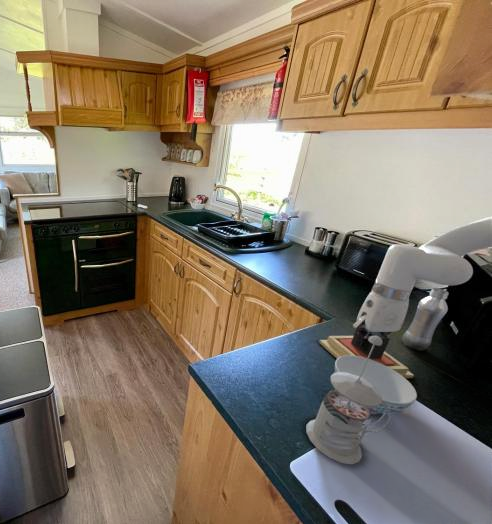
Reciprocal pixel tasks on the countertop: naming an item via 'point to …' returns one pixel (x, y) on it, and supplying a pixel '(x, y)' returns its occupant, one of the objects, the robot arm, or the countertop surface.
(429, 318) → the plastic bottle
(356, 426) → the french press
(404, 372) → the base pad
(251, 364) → the countertop surface
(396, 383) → the chinaware
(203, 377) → the countertop surface
